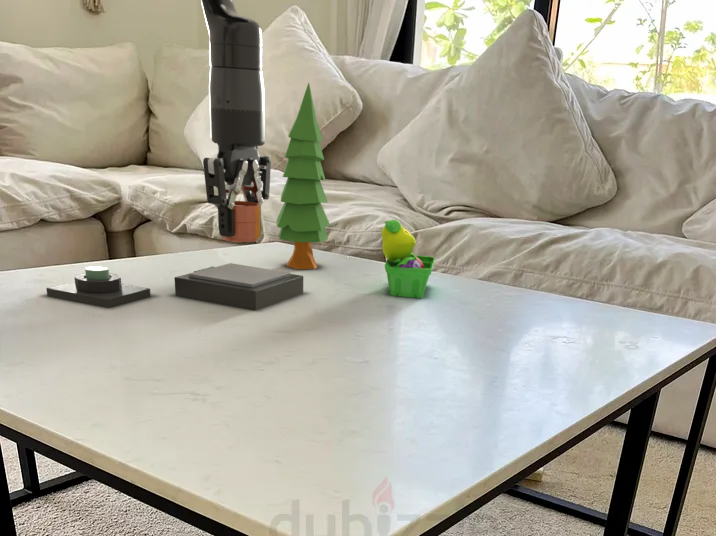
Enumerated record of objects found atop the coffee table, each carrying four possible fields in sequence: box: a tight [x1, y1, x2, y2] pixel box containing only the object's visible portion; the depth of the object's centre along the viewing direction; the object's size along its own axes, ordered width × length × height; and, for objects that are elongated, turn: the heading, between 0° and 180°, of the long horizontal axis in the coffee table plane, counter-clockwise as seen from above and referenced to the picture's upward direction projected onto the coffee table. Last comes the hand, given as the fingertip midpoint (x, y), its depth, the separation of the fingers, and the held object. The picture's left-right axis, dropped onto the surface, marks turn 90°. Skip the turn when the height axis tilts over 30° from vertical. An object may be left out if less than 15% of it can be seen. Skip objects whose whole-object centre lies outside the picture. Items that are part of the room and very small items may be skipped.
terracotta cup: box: [218, 200, 262, 243], centre depth 115 cm, size 6×6×5 cm
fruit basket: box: [381, 219, 436, 299], centre depth 127 cm, size 11×9×11 cm
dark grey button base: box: [46, 272, 152, 309], centre depth 113 cm, size 11×9×3 cm
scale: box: [173, 262, 304, 311], centre depth 119 cm, size 14×14×4 cm
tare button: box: [84, 265, 110, 280], centre depth 112 cm, size 3×3×2 cm
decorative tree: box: [275, 82, 330, 270], centre depth 136 cm, size 10×9×30 cm
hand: (240, 233), depth 115 cm, fingers closed on terracotta cup, 6 cm apart
